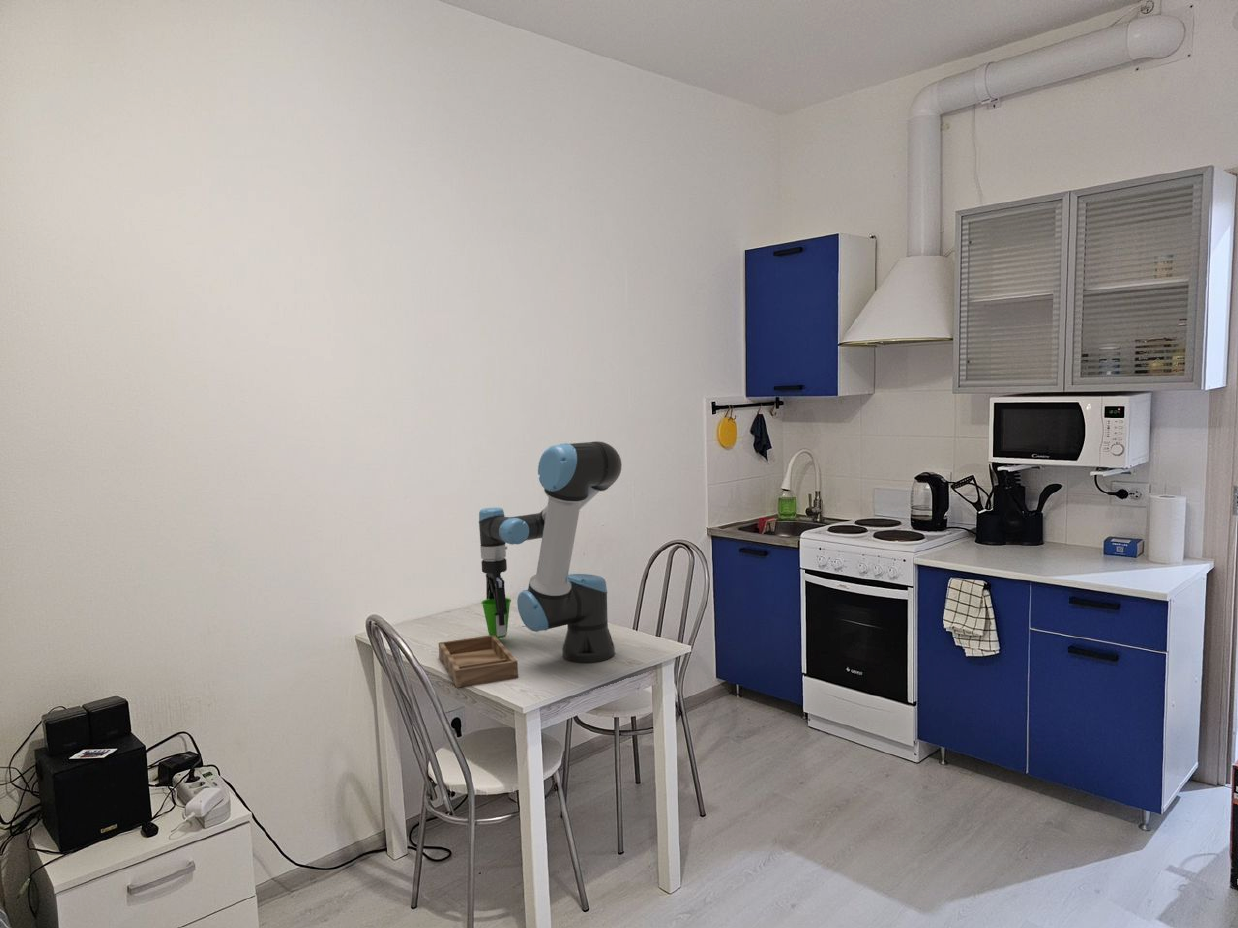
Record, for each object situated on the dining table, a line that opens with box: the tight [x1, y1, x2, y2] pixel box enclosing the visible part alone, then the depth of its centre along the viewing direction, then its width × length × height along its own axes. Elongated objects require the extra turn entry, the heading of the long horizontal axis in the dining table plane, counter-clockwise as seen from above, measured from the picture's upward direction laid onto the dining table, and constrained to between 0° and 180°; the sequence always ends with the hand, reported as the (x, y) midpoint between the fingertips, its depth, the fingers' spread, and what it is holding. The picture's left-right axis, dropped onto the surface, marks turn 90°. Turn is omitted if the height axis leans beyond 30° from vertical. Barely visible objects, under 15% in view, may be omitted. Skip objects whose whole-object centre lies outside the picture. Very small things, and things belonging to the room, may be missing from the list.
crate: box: [438, 634, 519, 689], centre depth 227 cm, size 26×16×4 cm, turn 22°
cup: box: [480, 597, 512, 640], centre depth 249 cm, size 9×9×11 cm
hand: (497, 631), depth 249 cm, fingers closed on cup, 9 cm apart
